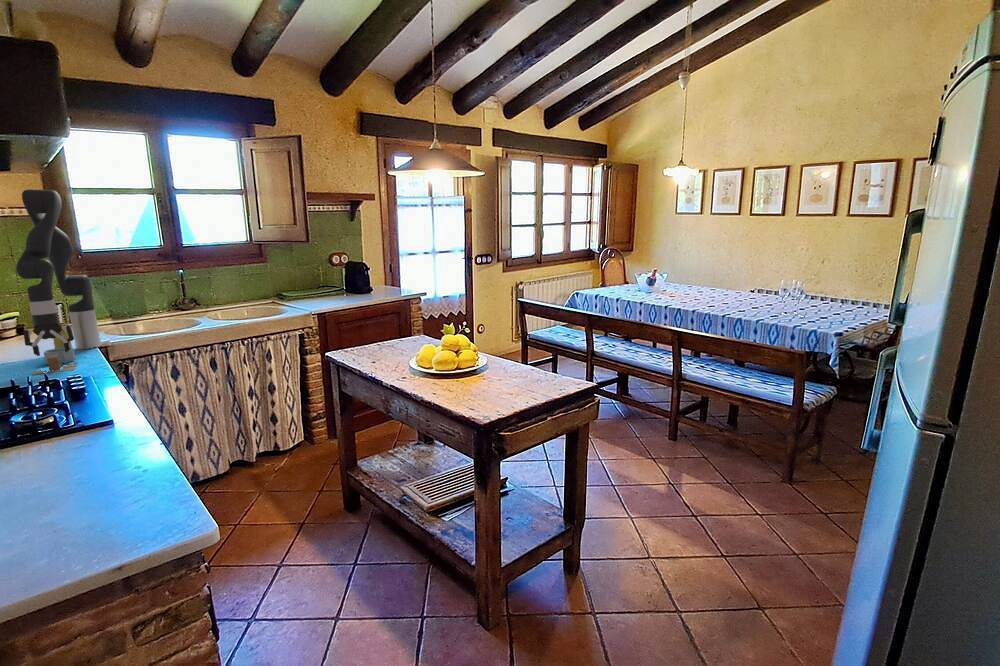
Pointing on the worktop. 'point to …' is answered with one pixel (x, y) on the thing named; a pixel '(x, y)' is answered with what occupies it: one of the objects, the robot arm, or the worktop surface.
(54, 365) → the lid
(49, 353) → the bowl
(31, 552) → the worktop surface
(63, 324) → the vase
